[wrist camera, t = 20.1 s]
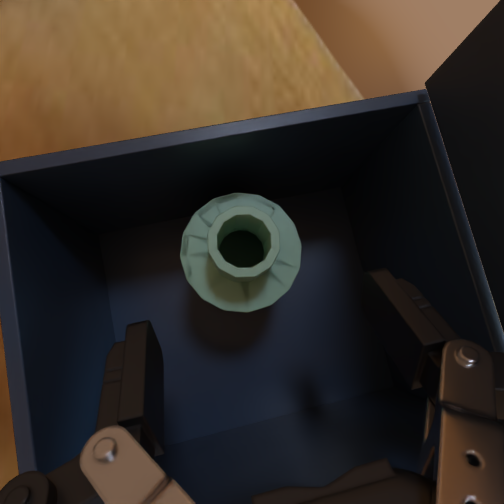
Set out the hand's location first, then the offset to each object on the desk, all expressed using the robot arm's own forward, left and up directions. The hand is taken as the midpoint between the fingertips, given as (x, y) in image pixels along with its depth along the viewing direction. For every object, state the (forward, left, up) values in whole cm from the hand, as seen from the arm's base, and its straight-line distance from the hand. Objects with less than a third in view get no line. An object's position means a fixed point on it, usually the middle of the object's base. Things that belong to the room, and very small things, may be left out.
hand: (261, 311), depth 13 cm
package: (0, 0, -11) cm, 11 cm away
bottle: (-2, +2, -11) cm, 11 cm away
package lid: (+7, +6, +10) cm, 13 cm away
